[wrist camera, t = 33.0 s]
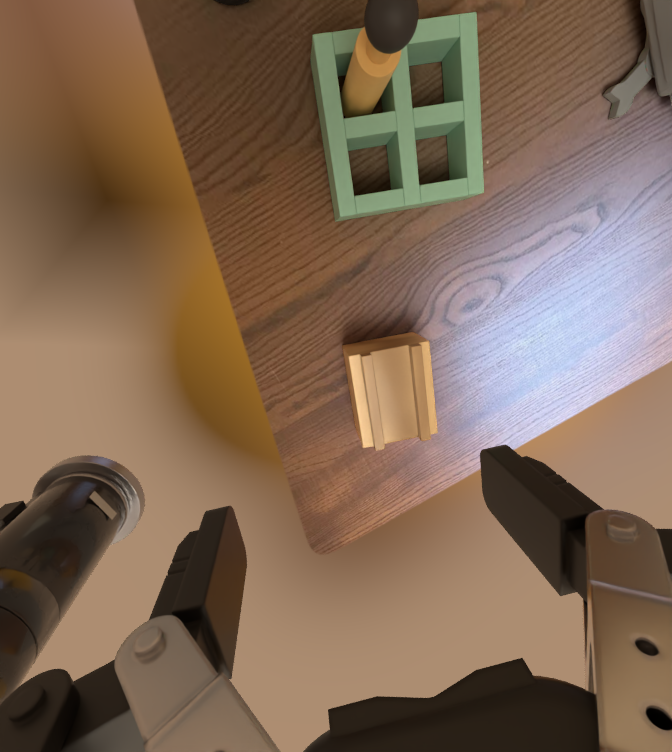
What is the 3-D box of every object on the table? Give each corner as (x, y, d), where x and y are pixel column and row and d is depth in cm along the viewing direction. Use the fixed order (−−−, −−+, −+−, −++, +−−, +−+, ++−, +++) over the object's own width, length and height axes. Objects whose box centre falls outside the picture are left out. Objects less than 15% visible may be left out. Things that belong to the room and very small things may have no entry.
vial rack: (335, 221, 37) (340, 217, 33) (310, 60, 33) (312, 34, 29) (465, 199, 38) (484, 192, 34) (456, 39, 34) (476, 11, 30)
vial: (428, 32, 22) (423, -39, 21) (374, 39, 21) (366, -32, 20) (376, 119, 35) (371, 79, 34) (342, 124, 35) (337, 84, 34)
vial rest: (355, 428, 44) (365, 453, 38) (341, 345, 41) (349, 358, 35) (422, 414, 44) (441, 437, 38) (413, 331, 41) (432, 342, 35)
